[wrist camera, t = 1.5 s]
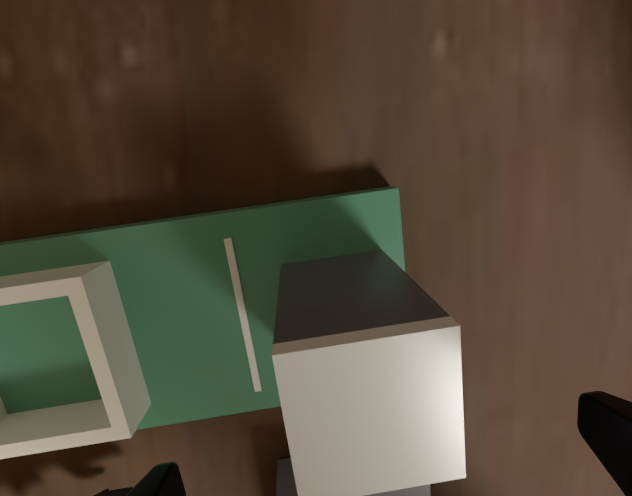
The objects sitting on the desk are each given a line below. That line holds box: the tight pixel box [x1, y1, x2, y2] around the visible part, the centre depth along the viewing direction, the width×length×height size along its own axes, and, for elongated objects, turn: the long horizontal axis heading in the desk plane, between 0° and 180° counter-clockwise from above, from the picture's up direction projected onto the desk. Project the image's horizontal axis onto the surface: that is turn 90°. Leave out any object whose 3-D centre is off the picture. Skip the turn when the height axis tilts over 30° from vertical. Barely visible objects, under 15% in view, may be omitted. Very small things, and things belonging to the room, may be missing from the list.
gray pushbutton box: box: [276, 458, 431, 496], centre depth 17 cm, size 7×11×3 cm, turn 8°
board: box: [0, 186, 405, 459], centre depth 14 cm, size 20×9×3 cm, turn 98°
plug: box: [272, 249, 466, 496], centre depth 12 cm, size 4×4×7 cm
